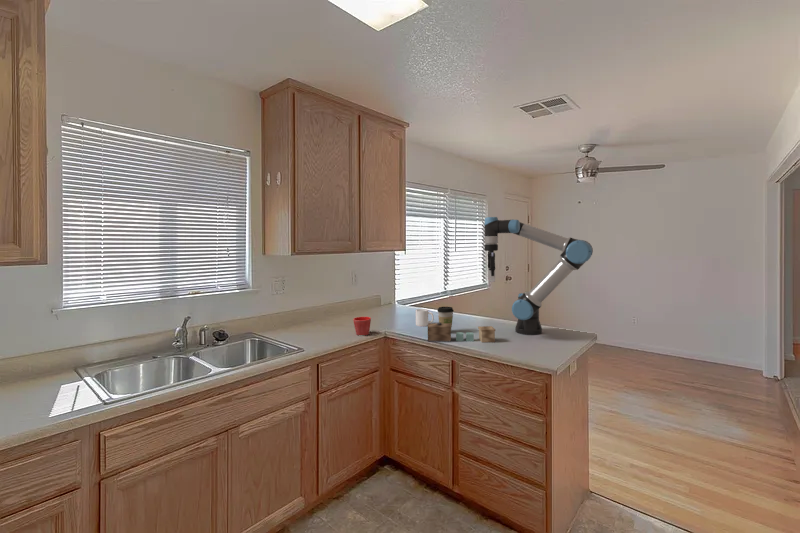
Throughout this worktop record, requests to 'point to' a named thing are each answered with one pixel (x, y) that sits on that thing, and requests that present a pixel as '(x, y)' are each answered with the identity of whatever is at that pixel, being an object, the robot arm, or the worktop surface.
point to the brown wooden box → (439, 332)
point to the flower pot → (362, 325)
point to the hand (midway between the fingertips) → (491, 280)
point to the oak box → (486, 334)
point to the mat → (438, 341)
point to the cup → (423, 317)
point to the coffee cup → (445, 315)
